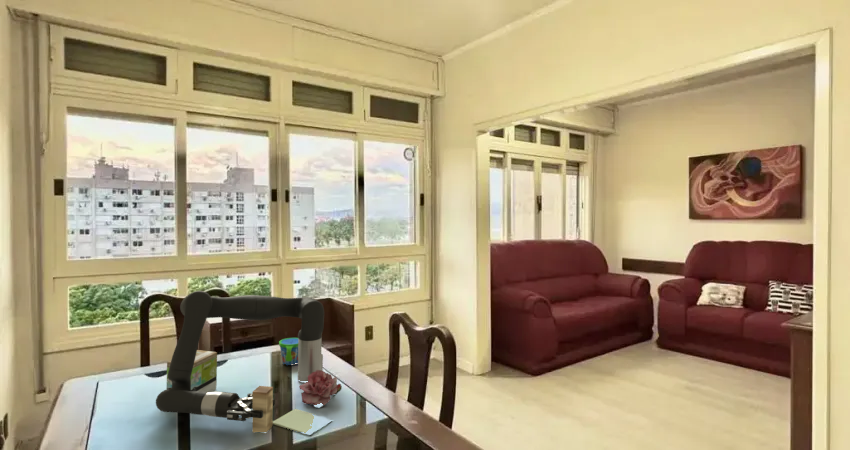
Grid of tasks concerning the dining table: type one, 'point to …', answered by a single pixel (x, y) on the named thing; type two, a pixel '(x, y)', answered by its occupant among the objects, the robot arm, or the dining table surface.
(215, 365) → the tea box
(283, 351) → the snack cup
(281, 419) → the felt mat
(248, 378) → the dining table surface
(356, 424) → the dining table surface
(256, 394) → the beech block
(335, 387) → the flower
